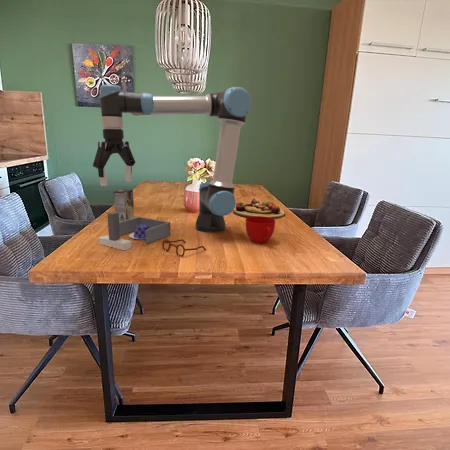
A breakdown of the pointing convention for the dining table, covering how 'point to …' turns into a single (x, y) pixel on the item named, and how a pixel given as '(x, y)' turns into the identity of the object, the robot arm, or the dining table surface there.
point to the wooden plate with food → (258, 209)
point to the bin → (154, 233)
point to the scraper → (114, 234)
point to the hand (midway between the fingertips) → (116, 183)
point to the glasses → (178, 246)
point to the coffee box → (124, 204)
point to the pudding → (140, 231)
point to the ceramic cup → (260, 228)
